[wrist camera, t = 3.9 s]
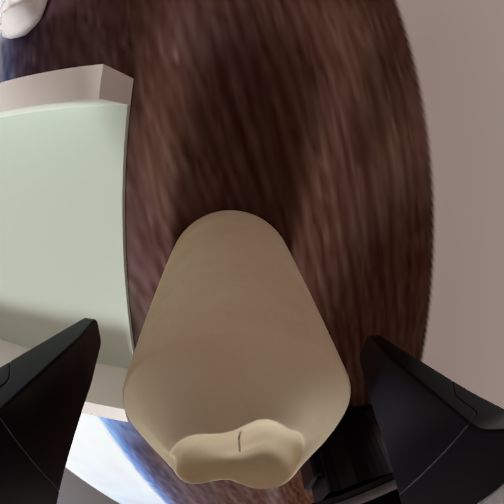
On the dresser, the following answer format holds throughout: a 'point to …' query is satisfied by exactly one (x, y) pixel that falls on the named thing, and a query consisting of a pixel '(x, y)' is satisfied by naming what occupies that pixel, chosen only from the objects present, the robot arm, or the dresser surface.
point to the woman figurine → (20, 16)
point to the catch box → (66, 218)
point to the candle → (234, 359)
